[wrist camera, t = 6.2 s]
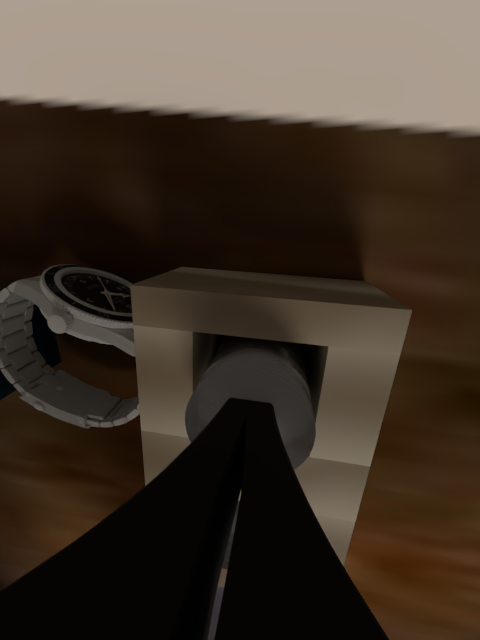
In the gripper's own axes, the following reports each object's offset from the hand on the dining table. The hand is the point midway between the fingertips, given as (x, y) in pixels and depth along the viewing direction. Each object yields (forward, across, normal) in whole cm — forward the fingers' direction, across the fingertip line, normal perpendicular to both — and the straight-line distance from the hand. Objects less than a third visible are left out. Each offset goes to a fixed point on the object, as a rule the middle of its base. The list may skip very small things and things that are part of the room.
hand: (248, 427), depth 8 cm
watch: (+4, +16, +1) cm, 16 cm away
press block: (+7, 0, +4) cm, 8 cm away
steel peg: (+5, 0, 0) cm, 5 cm away
